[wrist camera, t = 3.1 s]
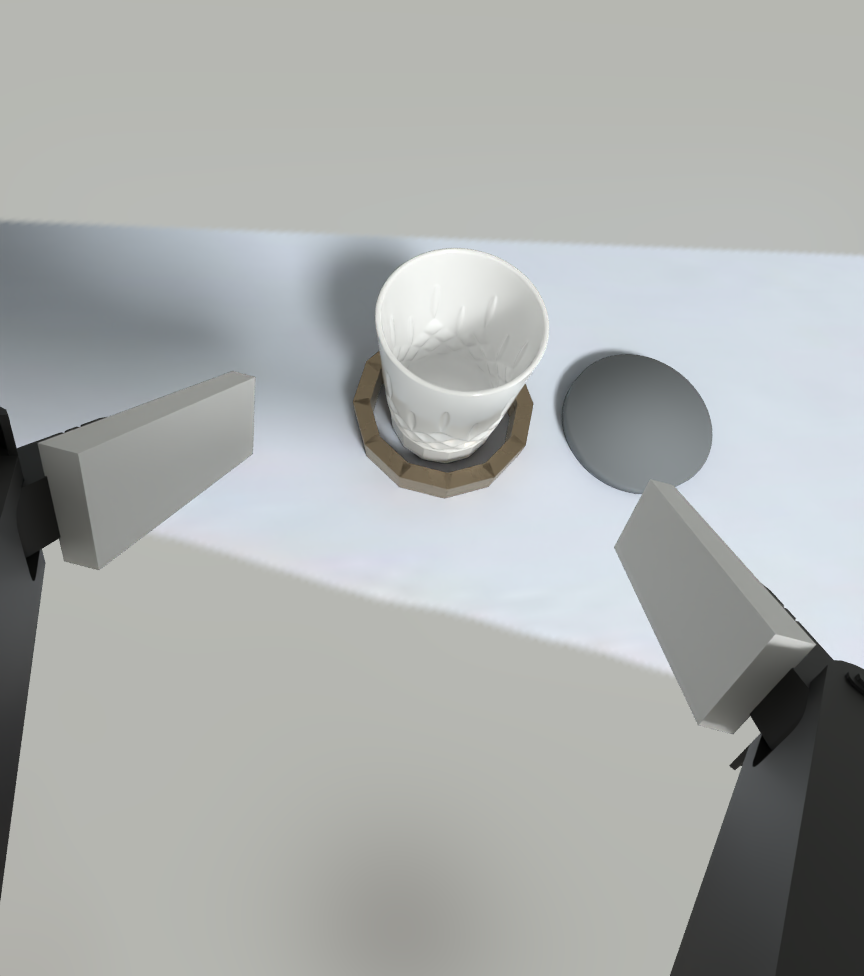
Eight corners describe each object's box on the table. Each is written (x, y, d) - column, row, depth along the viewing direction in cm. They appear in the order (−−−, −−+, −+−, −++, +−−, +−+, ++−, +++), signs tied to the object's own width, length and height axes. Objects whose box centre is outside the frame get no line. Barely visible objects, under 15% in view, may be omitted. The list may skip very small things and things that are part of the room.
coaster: (552, 473, 28) (557, 468, 27) (572, 347, 31) (578, 339, 30) (698, 510, 28) (709, 506, 27) (704, 381, 31) (714, 374, 30)
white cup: (362, 394, 29) (344, 283, 19) (461, 349, 30) (490, 225, 21) (419, 493, 27) (430, 425, 17) (521, 439, 28) (583, 350, 19)
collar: (337, 471, 27) (332, 460, 25) (383, 330, 30) (383, 310, 28) (506, 514, 27) (514, 506, 25) (534, 368, 30) (543, 351, 28)
